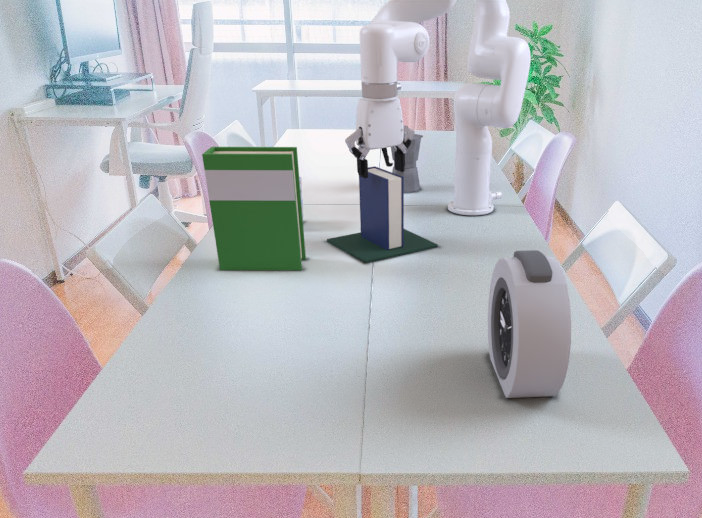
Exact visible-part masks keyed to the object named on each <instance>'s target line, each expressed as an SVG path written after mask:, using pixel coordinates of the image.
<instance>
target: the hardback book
mask: <svg viewBox="0 0 702 518" xmlns="http://www.w3.org/2000/svg"><path fill="white" fill-rule="evenodd" d="M201 156H202V162H203V169H204V176H205V181H206V189H207V195H208V201H209V208H210V209H209V210H210V214H211V221H212V226H213V235H214V240H215V246H216V253H217V260H218V266H219V271H302V270H303V263H302V261H306V260H307V254H306V242H305V231H304V222H303V217H304V215H303V216H302V204H301V192H300V180H299V177H300V169H299V157H298V147H297V146H210V147H209V148H208V149H207V150H205V151H204V152H203V153H202V154H201Z"/></svg>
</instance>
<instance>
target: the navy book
mask: <svg viewBox="0 0 702 518" xmlns="http://www.w3.org/2000/svg"><path fill="white" fill-rule="evenodd" d="M358 187H359V189H358V190H359V191H358V192H359V219H360V222H359V223H360V232H361V237H363V238H365V239H367V240H369V241H370V242H372V243H374V244H376V245H378V246H380V247H382V248H384V249H386V250H389V249H392V248H396V247H404V229H405V228H404V224H405V223H404V222H405V221H404V219H405V216H404V215H405V212H404V211H405V209H404V206H405V205H404V204H405V203H404V200H405V199H404V198H405V197H404V195H405V193H404V177H403V176H400V175H397V174H394V173H392V171H389V170H386V169H383V168H381V167H378V166H368V178H363V177H360V176H359V175H358Z"/></svg>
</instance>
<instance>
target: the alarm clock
mask: <svg viewBox="0 0 702 518" xmlns="http://www.w3.org/2000/svg"><path fill="white" fill-rule="evenodd" d="M565 277H566V276H565V273H564V270H563V268H562V266H561V265H560V262H559V260H557V259H555V258H554V257H553V256H546V255H545V254H544V253H543V252H541V251H539V250H535V249H533V250H515V251H514V252H513V257H511V256H510V257H501V258H499V259H498V260H497V262H496V263H495V265H494V268H493V271H492V275H491V280H490V284H489V293H488V302H487V303H488V305H487V307H488V308H487V340H488V353H489V354H488V355H489V359H490V362H491V364H492V367H493V369H494V372H495V374H496V377H497V380H498V381H499V385H500V387H501V389H502V392H503V394H504V397H505V398H506V399H519V398H542V397H543V398H544V397H546V398H547V397H555V396H557V394H558V393H559V392H560V391H561V390H562V388H563V386H564V383H565V379H566V377H567V373H568V369H569V363H570V356H571V348H572V347H571V346H572V313H571V301H570V295H569V290H568V284H567V280H566V278H565Z"/></svg>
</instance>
